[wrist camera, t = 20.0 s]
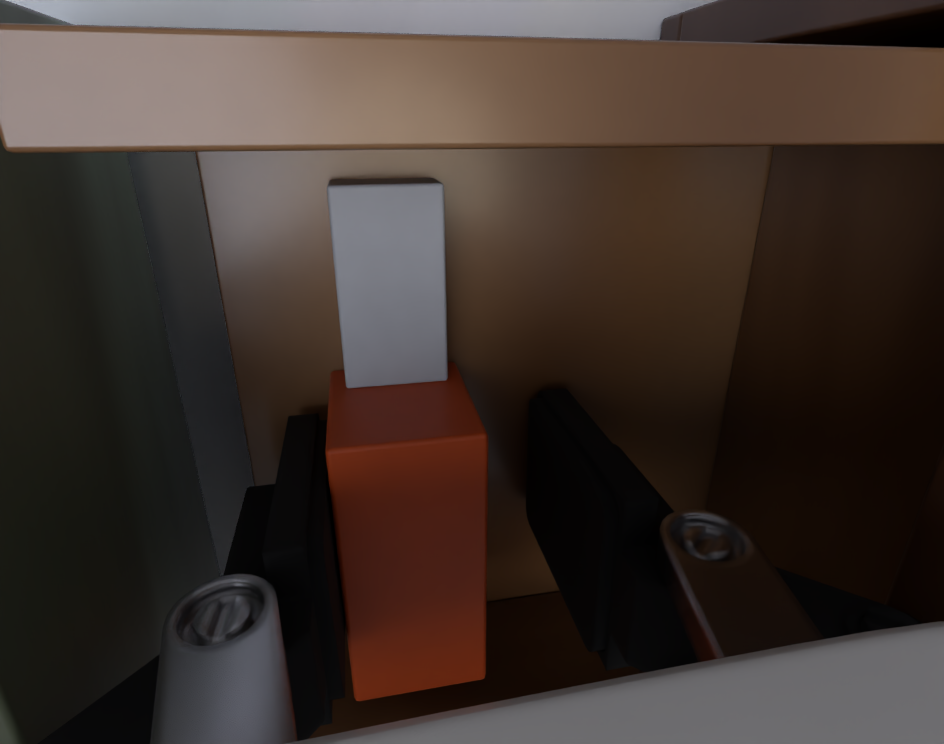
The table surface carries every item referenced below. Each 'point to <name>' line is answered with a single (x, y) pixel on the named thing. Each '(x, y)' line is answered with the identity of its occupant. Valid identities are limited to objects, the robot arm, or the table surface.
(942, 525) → the cabinet
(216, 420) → the table surface
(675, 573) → the robot arm
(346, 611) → the usb stick
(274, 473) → the handled lid slab
